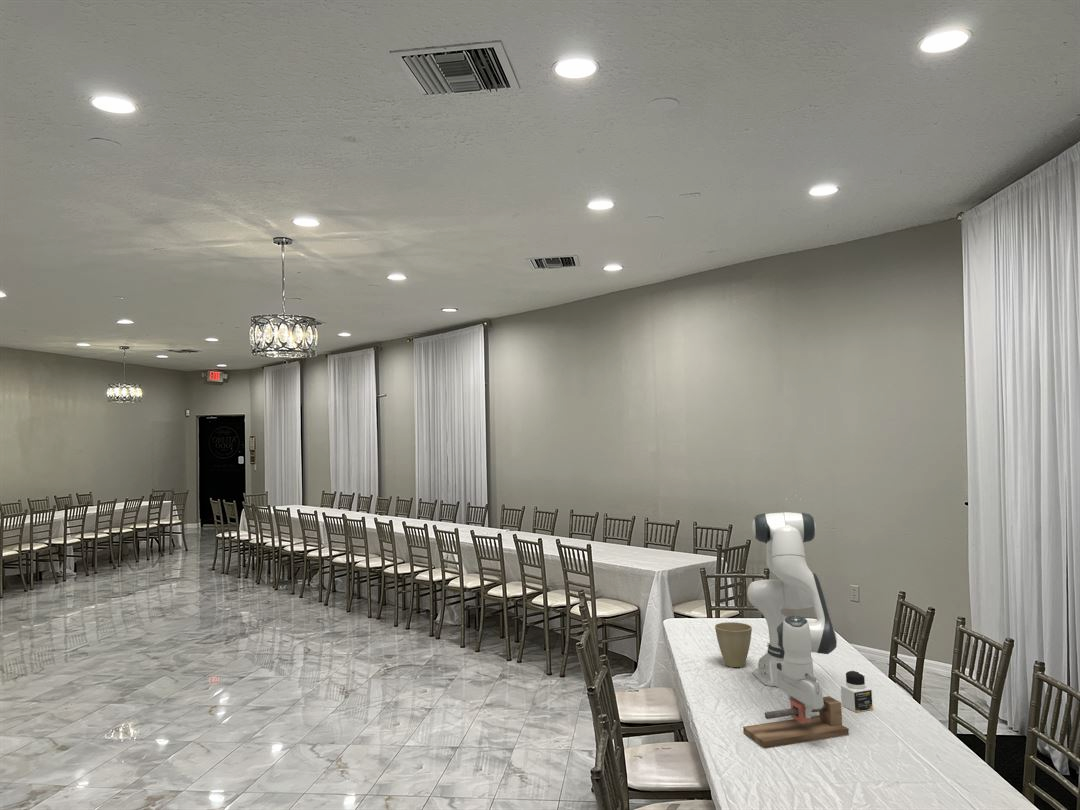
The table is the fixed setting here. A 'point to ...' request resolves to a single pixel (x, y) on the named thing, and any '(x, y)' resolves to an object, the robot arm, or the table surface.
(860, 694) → the medicine bottle
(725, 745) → the table surface
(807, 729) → the rod stand
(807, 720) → the square nut
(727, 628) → the plant pot
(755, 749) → the table surface
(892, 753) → the table surface
